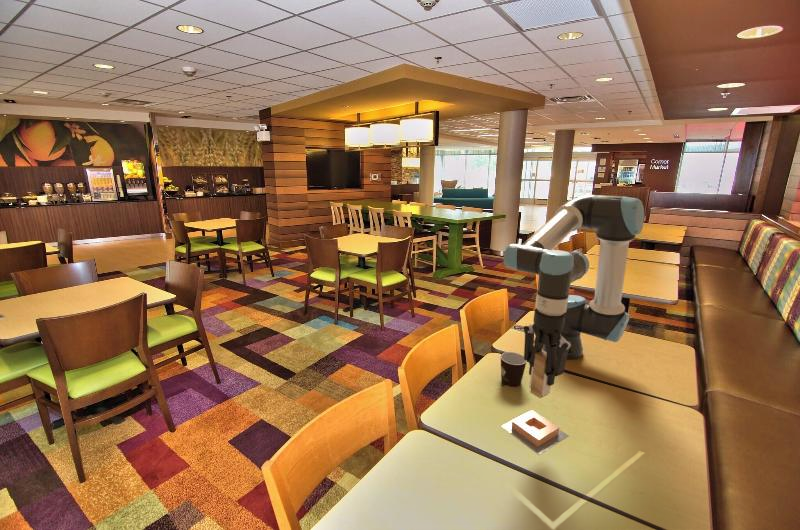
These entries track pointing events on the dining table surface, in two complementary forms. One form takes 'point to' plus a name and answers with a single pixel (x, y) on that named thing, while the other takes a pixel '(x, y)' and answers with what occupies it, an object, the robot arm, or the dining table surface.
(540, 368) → the brown wooden block
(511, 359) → the coffee mug
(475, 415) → the dining table surface
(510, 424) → the plate
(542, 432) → the orange square frame
